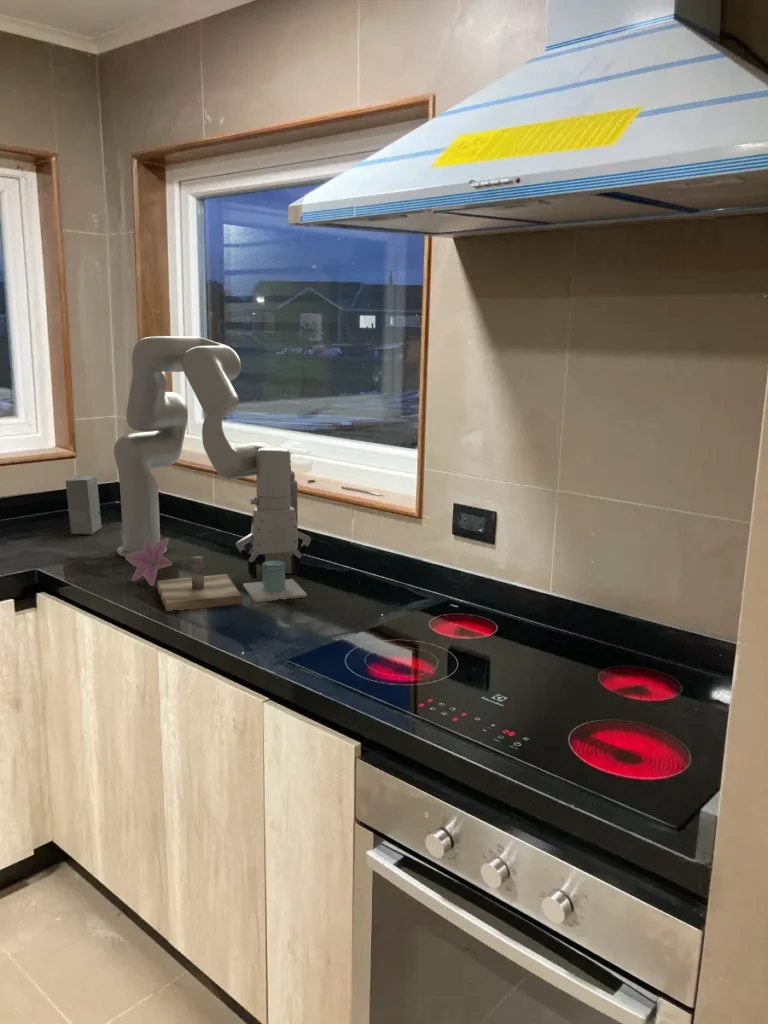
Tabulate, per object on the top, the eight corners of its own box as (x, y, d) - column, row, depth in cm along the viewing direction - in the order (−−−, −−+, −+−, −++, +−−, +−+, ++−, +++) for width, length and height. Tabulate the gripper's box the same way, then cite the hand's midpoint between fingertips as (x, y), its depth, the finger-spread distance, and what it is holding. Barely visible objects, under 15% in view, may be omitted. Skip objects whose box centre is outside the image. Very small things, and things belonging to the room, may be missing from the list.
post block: (157, 588, 189) (155, 551, 187) (226, 582, 195) (225, 545, 193) (166, 611, 175) (165, 571, 173) (241, 603, 181) (240, 564, 179)
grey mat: (242, 586, 193) (242, 583, 193) (292, 581, 197) (292, 578, 197) (254, 602, 182) (254, 599, 182) (306, 596, 186) (306, 594, 186)
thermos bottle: (301, 566, 209) (301, 457, 203) (292, 575, 202) (291, 462, 195) (271, 563, 211) (270, 455, 204) (261, 572, 203) (259, 460, 197)
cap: (265, 593, 186) (265, 568, 185) (260, 586, 191) (260, 561, 189) (288, 591, 188) (287, 566, 187) (282, 584, 193) (281, 559, 191)
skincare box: (92, 535, 234) (89, 480, 230) (67, 534, 234) (63, 479, 230) (103, 527, 242) (99, 474, 238) (78, 527, 242) (75, 474, 238)
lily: (125, 577, 200) (112, 550, 194) (167, 553, 205) (156, 525, 199) (148, 604, 193) (136, 576, 187) (191, 578, 198) (181, 550, 192)
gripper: (238, 508, 178) (240, 583, 182) (315, 503, 185) (315, 576, 188) (231, 501, 185) (233, 574, 189) (305, 496, 191) (305, 567, 195)
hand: (274, 575), depth 189 cm, fingers open, 9 cm apart
